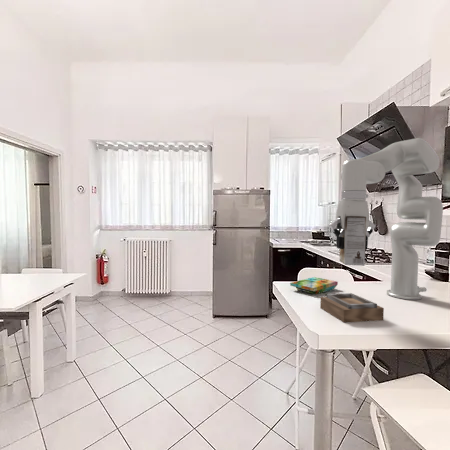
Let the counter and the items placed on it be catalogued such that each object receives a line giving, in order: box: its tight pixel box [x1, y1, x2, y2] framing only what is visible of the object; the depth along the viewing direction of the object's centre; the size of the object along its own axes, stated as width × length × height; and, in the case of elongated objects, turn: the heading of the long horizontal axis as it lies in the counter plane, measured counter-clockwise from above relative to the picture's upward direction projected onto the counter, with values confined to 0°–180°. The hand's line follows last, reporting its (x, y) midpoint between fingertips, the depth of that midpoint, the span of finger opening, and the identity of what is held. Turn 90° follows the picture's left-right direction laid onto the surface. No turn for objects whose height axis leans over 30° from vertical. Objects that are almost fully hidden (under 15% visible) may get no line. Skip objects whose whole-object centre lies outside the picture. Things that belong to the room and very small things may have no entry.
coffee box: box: [339, 216, 366, 267], centre depth 94 cm, size 9×6×16 cm
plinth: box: [319, 292, 385, 323], centre depth 94 cm, size 14×14×5 cm
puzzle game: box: [289, 276, 339, 295], centre depth 126 cm, size 12×5×20 cm
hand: (351, 248), depth 94 cm, fingers closed on coffee box, 8 cm apart
